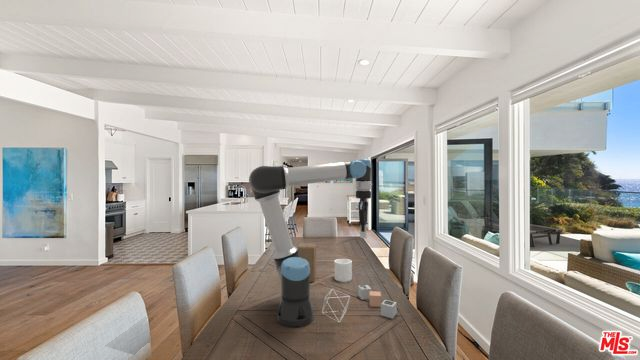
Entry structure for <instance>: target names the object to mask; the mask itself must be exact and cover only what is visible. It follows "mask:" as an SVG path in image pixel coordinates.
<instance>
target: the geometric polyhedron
mask: <svg viewBox="0 0 640 360" xmlns="http://www.w3.org/2000/svg"><path fill="white" fill-rule="evenodd" d="M332 291H333V292H334V293H335V295H336V296H332V297H330V296H331V295H332ZM336 291H337V292H338V293H342V294H343V296H342V298H348V300H347V302H346V304H345V306H344V304H343V303H342V301H341V299H340V296H338V294H337V293H336ZM328 295H329V296H328ZM344 295H345V296H344ZM327 296H328V297H327ZM335 298H338V300H339V302H340V303H341V305H342V307H343V308H344V309H343V310H342V314H341V316H340V319H339V318H338V317H337V315H336V314H335V312H336V313H337V312H338V310H333V309H332V307H331V305H330V303H329V302H328V301H329V299H335ZM350 299H351V295H350V294H347V293H344V292H342V291H340V290H338V289H335V288H331V290H330V291H329V292H328V293H327V294H326V295H325V297H324V299H323V302H325V303H323V305H322V309H321V313H322V314H323V315H326V316H327V317H329V318H330V319H333V320H334V321H335V322H338V323H341V321H342V319H343V318H344V316H345V314H346V312H347V309H348V307H349V304H350ZM326 305H328V307H329V308H330V310H331V311H330V313H333V315H334V316H335V318H336V319H335V318H333V317H331V316H329V314H328V315H327V314H325V313H326V311H324V310H325V307H326Z"/></svg>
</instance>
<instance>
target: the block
mask: <svg viewBox="0 0 640 360" xmlns="http://www.w3.org/2000/svg"><path fill="white" fill-rule="evenodd" d="M296 247H297V249H298V252H299V255H300V258H302V259H306V260H307V261H308V262H309V267H310V283H314V282H315V281H316V278H317V243H315V242H299V244H298V245H297V246H296Z"/></svg>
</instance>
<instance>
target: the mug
mask: <svg viewBox="0 0 640 360" xmlns="http://www.w3.org/2000/svg"><path fill="white" fill-rule="evenodd" d="M352 262H353V261H352V260H351V259H348V258H337V259H334V280H335V281H336V282H340V283H347V282H348V283H349V282H350V281H352V279H353V277H352V276H353V273H352V272H353V270H352V269H353V263H352Z"/></svg>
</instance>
